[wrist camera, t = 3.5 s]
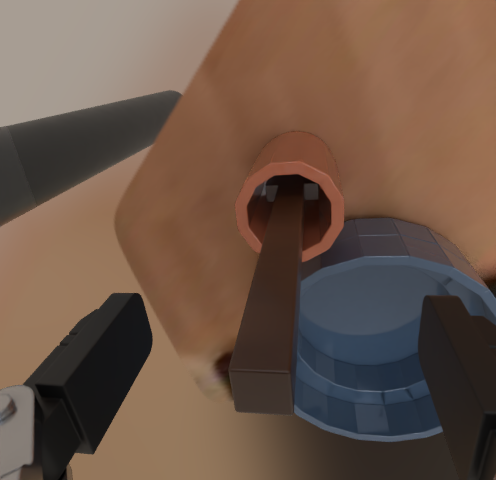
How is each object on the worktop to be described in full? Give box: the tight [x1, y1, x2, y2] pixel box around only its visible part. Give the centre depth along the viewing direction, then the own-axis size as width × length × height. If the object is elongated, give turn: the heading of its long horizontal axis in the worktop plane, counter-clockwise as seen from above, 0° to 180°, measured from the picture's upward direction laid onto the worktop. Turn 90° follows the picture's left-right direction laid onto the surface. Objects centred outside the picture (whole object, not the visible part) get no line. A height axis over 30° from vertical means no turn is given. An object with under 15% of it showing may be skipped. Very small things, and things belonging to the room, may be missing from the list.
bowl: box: [294, 218, 496, 442], centre depth 26 cm, size 15×15×6 cm
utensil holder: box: [235, 131, 344, 262], centre depth 21 cm, size 5×5×8 cm
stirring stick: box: [228, 174, 319, 416], centre depth 16 cm, size 3×1×18 cm, turn 96°
